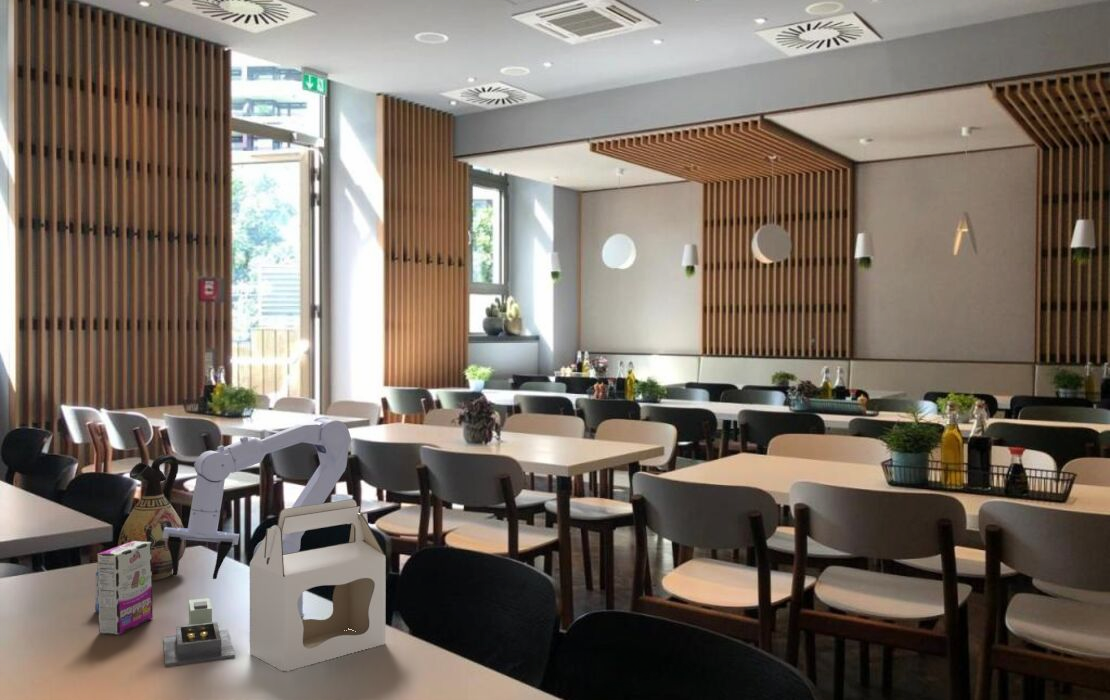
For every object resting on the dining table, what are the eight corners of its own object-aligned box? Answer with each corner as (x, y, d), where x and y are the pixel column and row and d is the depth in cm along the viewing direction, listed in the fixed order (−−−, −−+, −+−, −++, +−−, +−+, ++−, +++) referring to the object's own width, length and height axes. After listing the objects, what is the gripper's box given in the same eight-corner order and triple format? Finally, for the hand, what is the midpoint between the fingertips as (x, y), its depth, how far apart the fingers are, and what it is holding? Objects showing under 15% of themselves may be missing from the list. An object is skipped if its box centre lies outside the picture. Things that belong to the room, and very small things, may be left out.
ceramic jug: (142, 588, 220) (142, 461, 220) (104, 578, 229) (104, 456, 228) (204, 572, 234) (204, 453, 234) (167, 564, 243) (166, 448, 242)
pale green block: (209, 621, 196) (209, 595, 196) (211, 633, 189) (211, 605, 189) (188, 623, 195) (188, 597, 195) (190, 635, 187) (190, 607, 187)
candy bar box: (132, 617, 198) (131, 540, 198) (153, 618, 197) (153, 541, 197) (96, 634, 188) (95, 552, 187) (118, 635, 187) (118, 554, 186)
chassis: (227, 632, 189) (227, 617, 189) (234, 657, 174) (234, 641, 174) (163, 639, 184) (163, 624, 184) (165, 666, 170) (165, 650, 170)
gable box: (282, 673, 167) (282, 517, 166) (248, 654, 176) (247, 506, 176) (387, 644, 183) (387, 501, 182) (350, 628, 192) (350, 492, 191)
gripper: (165, 508, 186) (154, 577, 185) (241, 516, 190) (230, 583, 189) (169, 504, 193) (159, 570, 192) (243, 511, 197) (232, 576, 196)
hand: (194, 576), depth 191 cm, fingers open, 7 cm apart
